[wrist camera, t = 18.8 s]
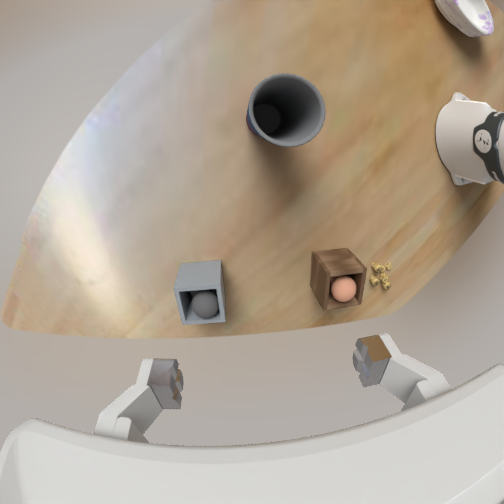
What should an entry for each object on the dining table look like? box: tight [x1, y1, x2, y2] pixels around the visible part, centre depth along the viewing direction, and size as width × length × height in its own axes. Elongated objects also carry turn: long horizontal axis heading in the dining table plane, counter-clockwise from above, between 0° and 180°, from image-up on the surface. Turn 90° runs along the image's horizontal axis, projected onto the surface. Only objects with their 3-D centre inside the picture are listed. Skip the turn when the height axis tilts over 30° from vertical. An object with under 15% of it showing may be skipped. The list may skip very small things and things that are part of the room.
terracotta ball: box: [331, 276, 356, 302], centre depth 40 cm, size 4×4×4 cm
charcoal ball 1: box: [189, 289, 213, 297], centre depth 41 cm, size 4×4×4 cm
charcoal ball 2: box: [192, 290, 219, 318], centre depth 38 cm, size 4×4×4 cm
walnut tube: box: [310, 248, 367, 310], centre depth 42 cm, size 6×6×7 cm
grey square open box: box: [174, 260, 226, 325], centre depth 40 cm, size 6×6×7 cm
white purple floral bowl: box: [434, 0, 494, 37], centre depth 20 cm, size 15×15×8 cm
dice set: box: [369, 262, 392, 290], centre depth 46 cm, size 5×5×2 cm
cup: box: [246, 74, 325, 147], centre depth 28 cm, size 7×7×15 cm
